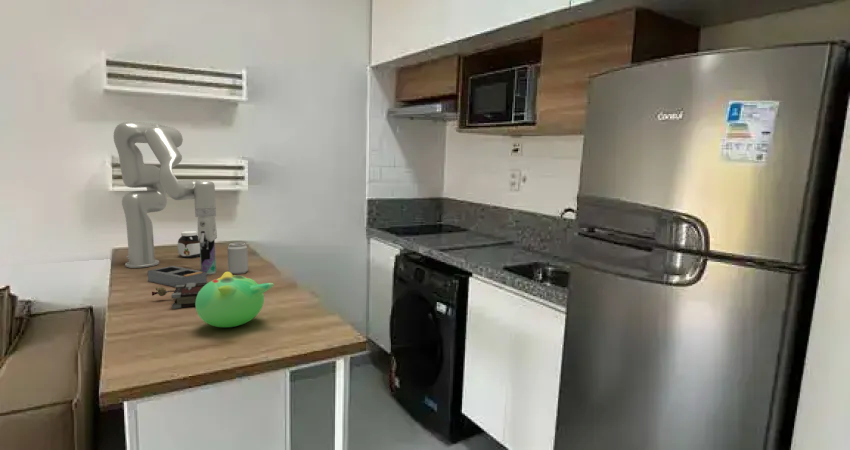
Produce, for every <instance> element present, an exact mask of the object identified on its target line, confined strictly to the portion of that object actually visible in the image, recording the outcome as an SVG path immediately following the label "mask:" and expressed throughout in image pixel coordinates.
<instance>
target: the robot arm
mask: <svg viewBox="0 0 850 450" xmlns="http://www.w3.org/2000/svg"><path fill="white" fill-rule="evenodd" d="M114 128H115V129H114V131H113V142H114V145H115V148H116V151H117V154H118V158H119V165H120V171H121V178H122V182H123V184H124V185H125V186H126V187H127V188H132V189H133V188H135V189H138V188H146V190H134V191H130V192H127V193H126V194H124V195H123V196H122V197H121V198H122V199H121V207H122V209H123V212H124V217H125V223H126V224H125V226H126V236H127V248H128V249H127V251H128V253H127V254H128V255H126V259H128V261H127V262H125V264H124V266H125V267H126V268H131V269H138V268H139V269H140V268H149V267H154V266H157V265H160V260H158V259H155V256H156V255H155V243H154V242H155V241H154V240H155V239H154V228H153V227H154V226H153V222H152V219H151V218H150V216H149V215H148V213H155V212H160V211H161V212H162V211H163V210H165V209H166V206H167V203H168V202H167V200H168V199H167V195H168V197H170V198H171V199H172V200H175V201H185V200H193V201H194V214H195V215H194V216H195V218H197V233H198V241H199V242H200V244H201V259H202V260H205V259H210V249H209V241H210V242H212V241H214V240H216V239H217V238H218V233H217V222H216V218H215V217H217V209H216V188H215V187H216V186H215V183H214V182H213V181H211V180H209V181H207V180H205V181H204V180H203V181H201V180H197V179H189V180H188V179H184V180H178V179H177V177H176V176H175V173H174V172H173V168H174V167H176V166H178V165H179V164H180V163H181V162H182V160H183V155H182V153H181V152H180V151H179V149H178V148H180V147H181V146H182V144H183V142H184V141H183V140H184V139H183V134H182V133H181V132H180V130H178V129H177V128H175V127H173V126H172V127H171V126H168V125H167V126H166V125H162V124H160V123H153V122H141V121H124V122H120V123H118V124H117V125H116V127H114ZM136 144H147V145H148V146H149V148H150V149H151V151H152V153H153V154H154V156H155V158H156V159H157V160H158V163H159V164H160V168H159V167H158V166H156V165H154V164H145V162H144V156H143V154H142V151H141V149H140V147H138V146H137V145H136ZM200 238H201V239H200ZM205 240H207V241H205ZM206 243H207V245H206ZM201 259H200V260H201Z"/></svg>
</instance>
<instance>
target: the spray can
mask: <svg viewBox="0 0 850 450" xmlns="http://www.w3.org/2000/svg"><path fill="white" fill-rule="evenodd" d="M200 239H201V238H200ZM215 240H216V239H215ZM215 240H214V241H212V242H210V241H209V249H210V259H205V260H202V259H201V244H200V256H199V257H200V271H204V272H207V275H214V274H217V267H216V265H217V263H216V241H215ZM205 241H207V240H205ZM206 245H207V243H206Z"/></svg>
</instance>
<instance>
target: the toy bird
mask: <svg viewBox="0 0 850 450" xmlns="http://www.w3.org/2000/svg"><path fill="white" fill-rule="evenodd" d="M274 286H275V284H274V283H273V282H264V283H257V282H256V280H254V279H252V278H250V277H248V276H245V275H244V276H243V275H237V274H232V273H230V272H229V271H225V272H223V274H222V275H221V276H220V277H217V278H215V279H212V280H210V281H208V282H207V284H206V285H205V286H204V287H203V288H202V289H201V290H200V291H199V293H198V295H197V297H196V302H195V306H194V307H195V310H196V313H197V315H198V317H199V318H200V319H201V320H202V321H203V322H204V323H205V324H207V325H210V326H212V327H215V328H216V327H217V328H233V327H238V326H242V325H244V324H247V323H248V322H250V321H251V320H253V319H254V318H255V317H257V316H258V314H260V312H261V310H262V308H263V305H264V301H265V297H264V296H265V295H264V293H265V292H267V291H268V290H270V289H272V288H273V287H274Z"/></svg>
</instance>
